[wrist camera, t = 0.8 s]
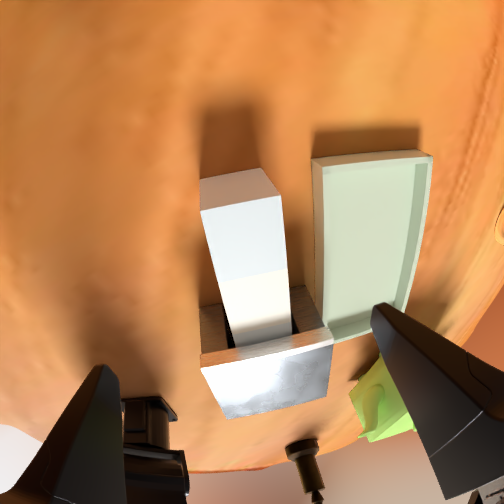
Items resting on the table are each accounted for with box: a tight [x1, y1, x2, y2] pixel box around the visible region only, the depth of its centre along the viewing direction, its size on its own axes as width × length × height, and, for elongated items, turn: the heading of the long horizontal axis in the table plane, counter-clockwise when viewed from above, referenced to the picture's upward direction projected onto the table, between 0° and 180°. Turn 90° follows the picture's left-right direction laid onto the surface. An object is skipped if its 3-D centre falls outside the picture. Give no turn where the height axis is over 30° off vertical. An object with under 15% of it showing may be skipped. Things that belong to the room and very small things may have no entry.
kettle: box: [349, 352, 417, 442], centre depth 31 cm, size 15×14×11 cm
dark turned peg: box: [285, 439, 325, 504], centre depth 40 cm, size 7×6×18 cm
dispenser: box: [199, 285, 334, 419], centre depth 23 cm, size 9×9×7 cm
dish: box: [311, 149, 433, 344], centre depth 23 cm, size 17×9×2 cm, turn 8°
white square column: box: [200, 168, 292, 348], centre depth 20 cm, size 14×4×5 cm, turn 8°
